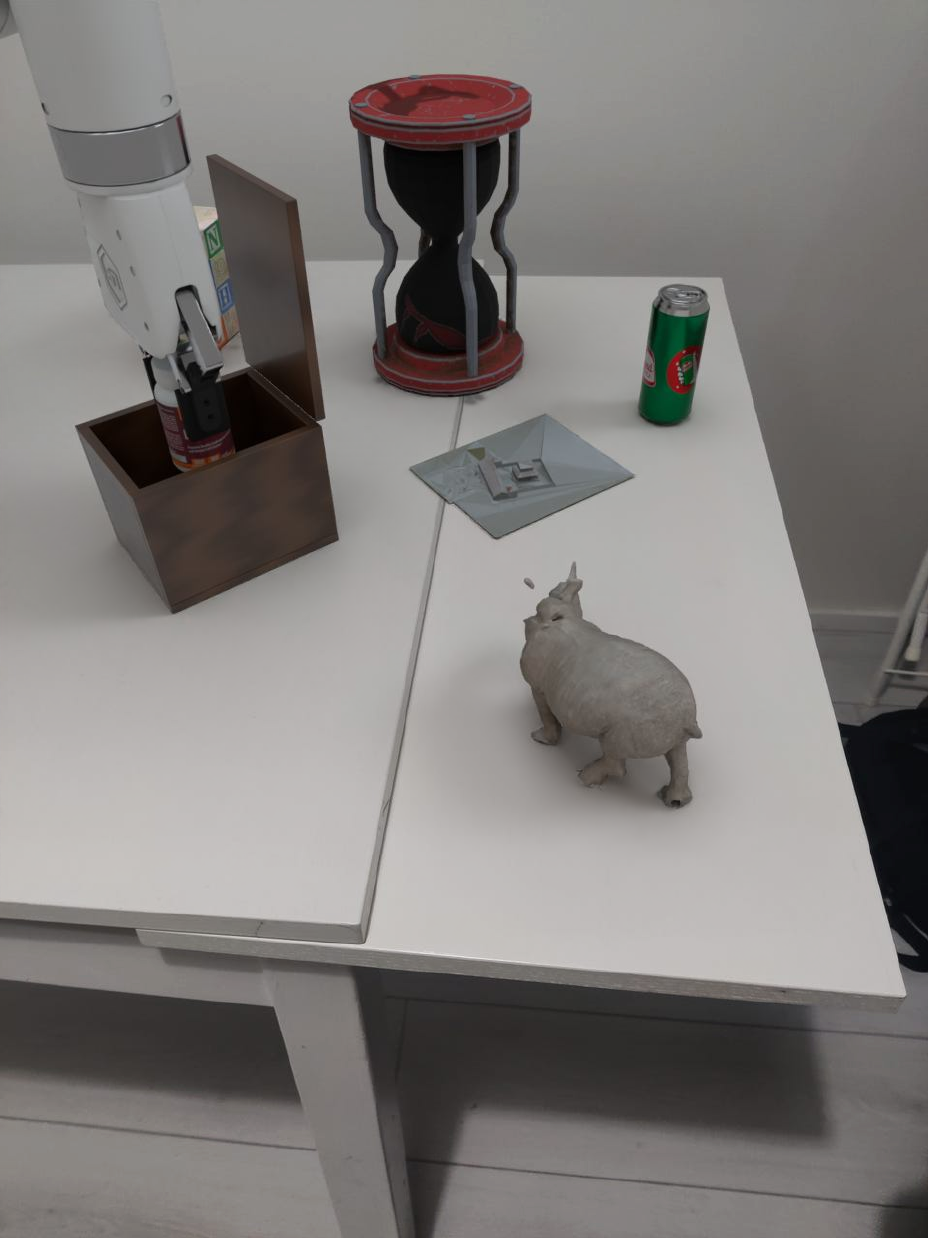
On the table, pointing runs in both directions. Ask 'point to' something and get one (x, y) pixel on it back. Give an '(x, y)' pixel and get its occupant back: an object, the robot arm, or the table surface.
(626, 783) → the table surface
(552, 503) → the grey flat relief plate
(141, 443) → the chest
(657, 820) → the table surface
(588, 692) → the rhinoceros figurine
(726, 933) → the table surface
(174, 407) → the pill bottle
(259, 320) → the lid
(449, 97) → the hourglass
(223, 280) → the stack of blocks
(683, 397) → the soda can
